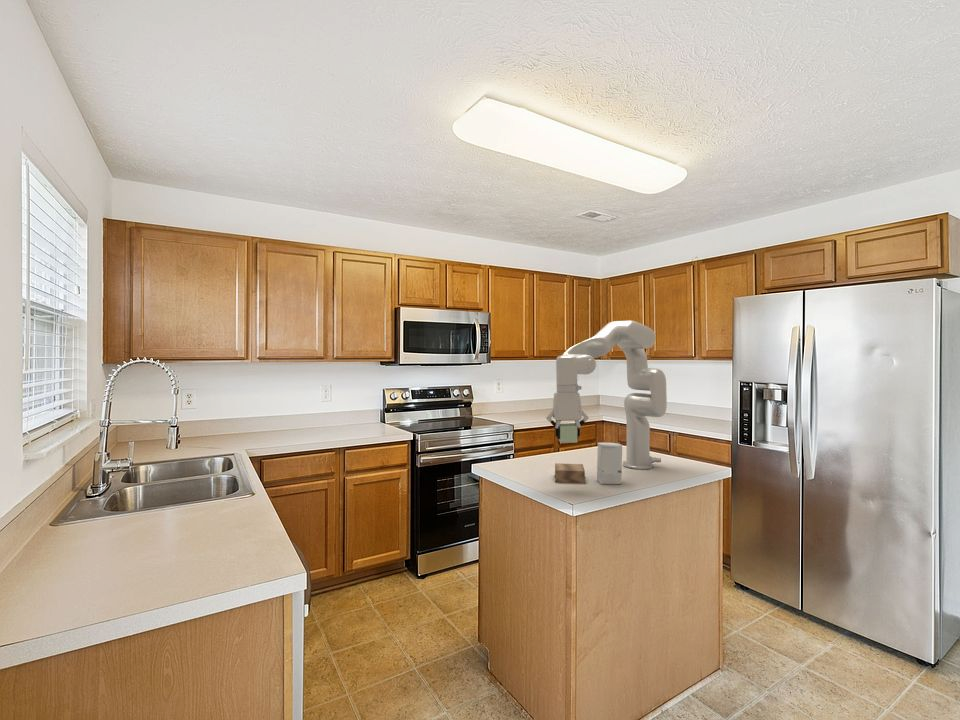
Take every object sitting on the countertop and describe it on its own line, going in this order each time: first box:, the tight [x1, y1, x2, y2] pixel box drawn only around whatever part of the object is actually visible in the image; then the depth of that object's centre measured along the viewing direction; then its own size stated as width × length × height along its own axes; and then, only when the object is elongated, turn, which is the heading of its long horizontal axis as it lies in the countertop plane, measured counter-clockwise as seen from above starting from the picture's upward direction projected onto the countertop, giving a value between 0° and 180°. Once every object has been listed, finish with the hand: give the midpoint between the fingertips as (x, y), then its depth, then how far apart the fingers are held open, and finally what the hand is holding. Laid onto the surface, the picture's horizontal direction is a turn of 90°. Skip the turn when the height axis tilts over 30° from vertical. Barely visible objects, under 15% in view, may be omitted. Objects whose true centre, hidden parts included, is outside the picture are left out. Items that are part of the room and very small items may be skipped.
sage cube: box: [557, 422, 578, 444], centre depth 176 cm, size 6×6×6 cm
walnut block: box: [554, 462, 586, 484], centre depth 188 cm, size 11×11×5 cm
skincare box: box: [596, 441, 623, 485], centre depth 183 cm, size 8×6×15 cm
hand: (567, 437), depth 176 cm, fingers closed on sage cube, 6 cm apart
